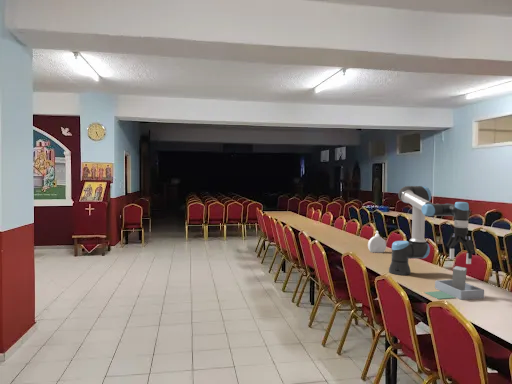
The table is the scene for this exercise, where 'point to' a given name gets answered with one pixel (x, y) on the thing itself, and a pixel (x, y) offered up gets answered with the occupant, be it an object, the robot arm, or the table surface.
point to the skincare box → (459, 278)
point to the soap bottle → (377, 244)
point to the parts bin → (468, 293)
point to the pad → (440, 295)
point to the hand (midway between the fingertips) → (459, 261)
